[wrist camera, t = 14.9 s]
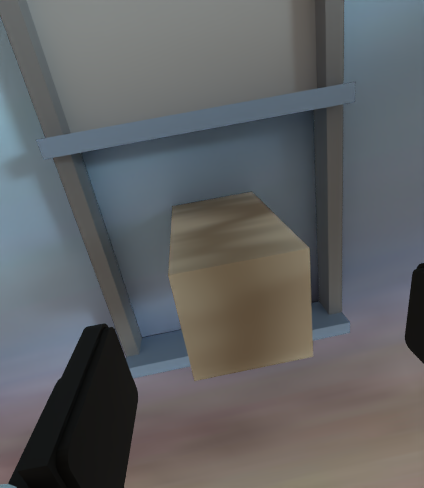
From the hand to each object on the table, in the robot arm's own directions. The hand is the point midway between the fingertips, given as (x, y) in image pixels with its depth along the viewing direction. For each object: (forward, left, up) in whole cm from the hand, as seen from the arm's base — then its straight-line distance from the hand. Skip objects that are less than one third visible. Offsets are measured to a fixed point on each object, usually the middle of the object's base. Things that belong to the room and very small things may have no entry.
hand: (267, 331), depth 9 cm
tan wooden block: (0, 0, -9) cm, 9 cm away
